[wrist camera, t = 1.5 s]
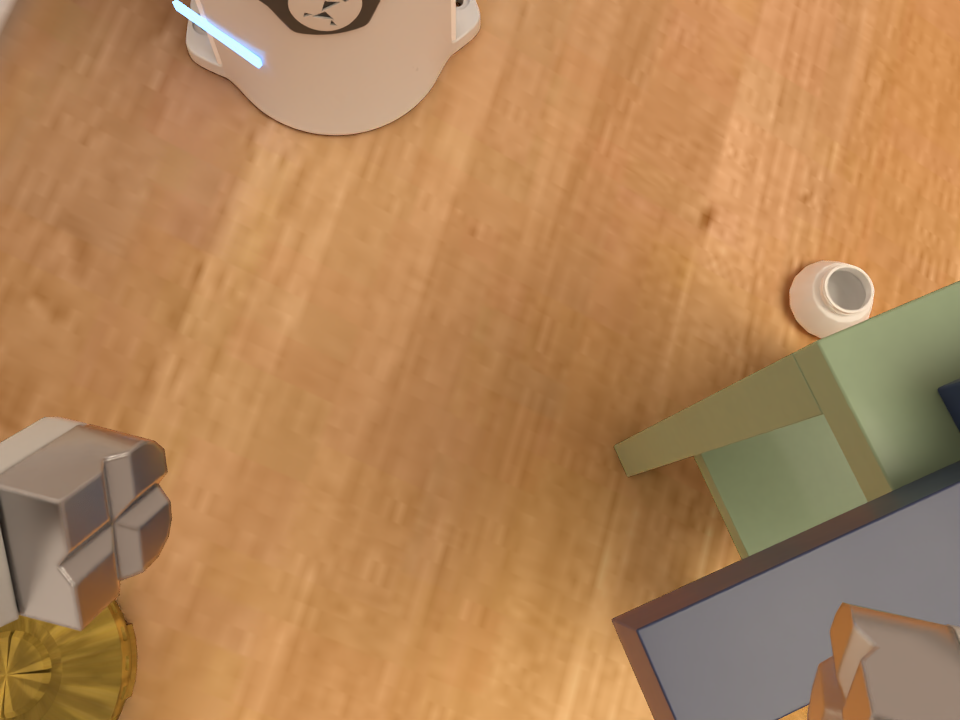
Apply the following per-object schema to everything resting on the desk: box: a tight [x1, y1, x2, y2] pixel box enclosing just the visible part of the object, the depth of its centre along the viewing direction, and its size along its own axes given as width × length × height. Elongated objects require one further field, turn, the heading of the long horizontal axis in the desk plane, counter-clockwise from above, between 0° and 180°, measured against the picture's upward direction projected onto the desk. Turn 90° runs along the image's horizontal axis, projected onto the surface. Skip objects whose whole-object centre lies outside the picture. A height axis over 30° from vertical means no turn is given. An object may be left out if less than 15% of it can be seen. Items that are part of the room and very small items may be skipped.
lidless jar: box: [789, 260, 874, 339], centre depth 49 cm, size 5×3×5 cm
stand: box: [614, 281, 960, 559], centre depth 35 cm, size 14×12×26 cm
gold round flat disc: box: [0, 600, 137, 720], centre depth 43 cm, size 12×12×2 cm
